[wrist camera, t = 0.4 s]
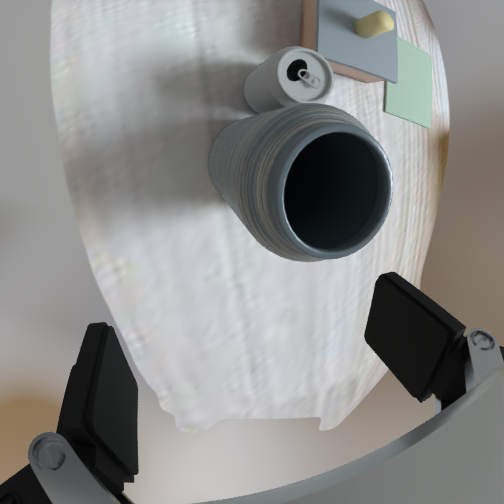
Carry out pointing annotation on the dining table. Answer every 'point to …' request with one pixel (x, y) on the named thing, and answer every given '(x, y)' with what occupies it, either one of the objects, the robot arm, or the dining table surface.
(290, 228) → the vase
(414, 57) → the mat
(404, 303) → the robot arm
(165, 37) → the dining table surface
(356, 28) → the lid
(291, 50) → the can
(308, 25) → the salmon open box
